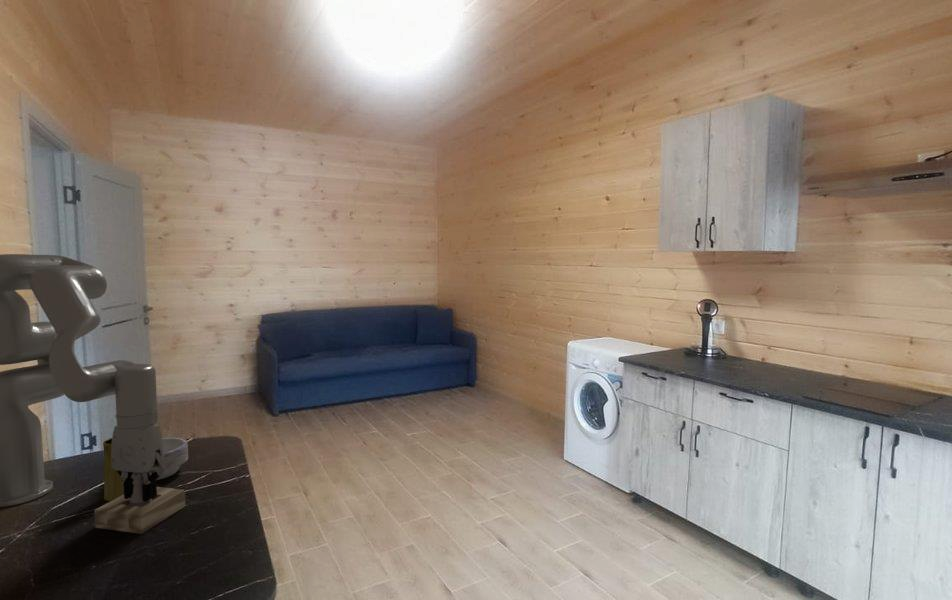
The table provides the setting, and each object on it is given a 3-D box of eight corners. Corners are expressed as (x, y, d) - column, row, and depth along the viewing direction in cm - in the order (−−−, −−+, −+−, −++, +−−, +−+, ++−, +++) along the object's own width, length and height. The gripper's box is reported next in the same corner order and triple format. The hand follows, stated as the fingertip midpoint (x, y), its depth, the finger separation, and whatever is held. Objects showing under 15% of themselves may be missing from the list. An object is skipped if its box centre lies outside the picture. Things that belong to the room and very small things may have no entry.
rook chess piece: (125, 510, 107) (123, 476, 106) (133, 500, 111) (132, 467, 110) (148, 508, 108) (146, 473, 107) (155, 498, 112) (154, 465, 112)
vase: (117, 502, 116) (115, 445, 114) (97, 500, 117) (94, 443, 116) (140, 491, 121) (137, 436, 120) (120, 488, 123) (117, 434, 122)
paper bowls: (149, 462, 139) (148, 435, 138) (200, 463, 138) (199, 437, 138) (107, 486, 124) (105, 457, 123) (164, 488, 123) (162, 458, 123)
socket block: (95, 527, 105) (94, 509, 105) (142, 500, 117) (142, 485, 116) (141, 533, 103) (140, 516, 102) (185, 506, 114) (184, 489, 114)
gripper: (90, 422, 106) (94, 501, 107) (155, 428, 103) (158, 509, 104) (121, 411, 113) (124, 486, 115) (182, 417, 110) (185, 493, 111)
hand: (140, 496), depth 109 cm, fingers closed on rook chess piece, 4 cm apart
